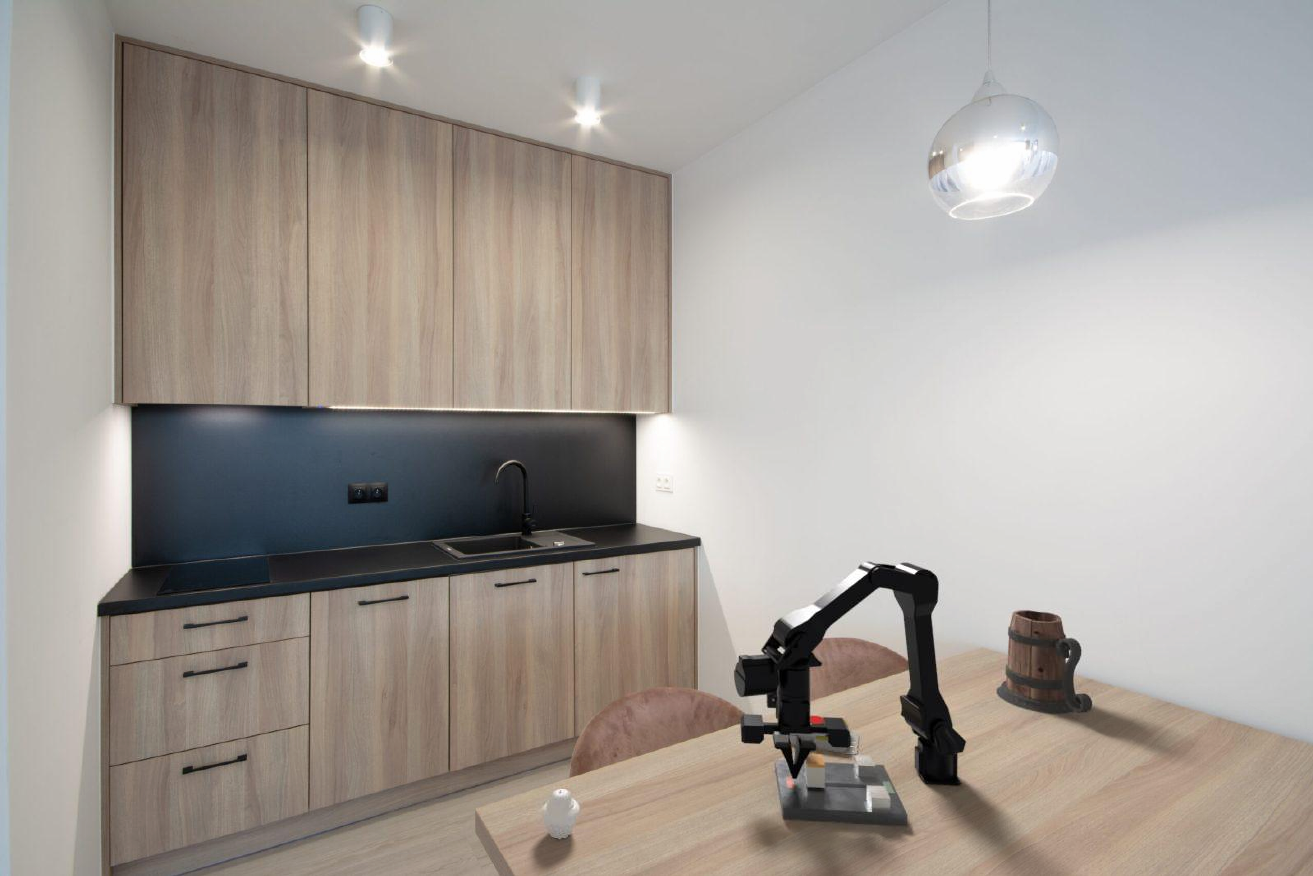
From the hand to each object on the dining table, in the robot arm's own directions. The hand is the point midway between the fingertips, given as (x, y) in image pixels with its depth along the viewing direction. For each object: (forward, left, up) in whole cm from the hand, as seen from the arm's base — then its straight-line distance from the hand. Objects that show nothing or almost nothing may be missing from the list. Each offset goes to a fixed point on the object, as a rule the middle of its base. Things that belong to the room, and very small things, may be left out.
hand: (794, 777), depth 112 cm
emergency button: (-8, -21, -4) cm, 23 cm away
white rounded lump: (+39, +15, -3) cm, 41 cm away
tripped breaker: (-4, 0, 0) cm, 4 cm away
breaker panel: (-7, 0, -3) cm, 8 cm away
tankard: (-63, -42, -3) cm, 76 cm away
